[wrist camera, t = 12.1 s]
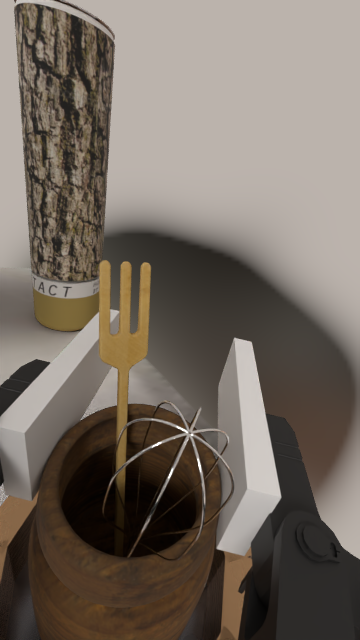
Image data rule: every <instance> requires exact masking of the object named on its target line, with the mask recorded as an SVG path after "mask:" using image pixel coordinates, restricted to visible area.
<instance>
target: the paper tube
mask: <svg viewBox="0 0 360 640" xmlns="http://www.w3.org/2000/svg"><path fill="white" fill-rule="evenodd" d="M14 1H15V3H16V4H15V7H14V13H15V27H16V43H17V57H18V73H19V88H20V103H21V118H22V134H23V148H24V164H25V179H26V194H27V208H28V209H27V210H28V224H29V240H30V255H31V269H32V285H33V296H34V311H35V317H36V319H37V320H38V321H39V322H40V323H41V324H42V325H43V326H45V327H47V328H50V329H54V330H59V331H75V330H80V329H83V328H84V327H85V326H86V325H87V324H88V323H89V322H90V321H91V320H92V319H93V317H94V316H95V315H96V314H97V313H98V312H99V264H100V263H101V262H102V254H103V237H104V220H105V203H106V186H107V170H108V152H109V136H110V117H111V102H112V84H113V68H114V49H115V44H114V39H115V35H114V33H113V31H112V30H111V29H110V28H109V26H108V25H106V24H105V23H104V22H103V21H102V20H100V19H99V18H97V17H96V16H94V15H93V14H91V13H89V12H88V11H86V10H84V9H82V8H80V7H78V6H76V5H73V4H71V3H69V2H66V1H64V0H14Z"/></svg>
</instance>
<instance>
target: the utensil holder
mask: <svg viewBox="0 0 360 640" xmlns="http://www.w3.org/2000/svg"><path fill="white" fill-rule="evenodd" d="M131 267H132V266H131V264H130V263H129V262H123V263H122V264H121V277H120V278H121V279H120V311H119V331H118V333H117V334H111V333H110V295H111V294H110V293H111V291H110V288H111V285H110V284H111V278H110V277H111V265H110V263H109V262H108V261H106V260H103V261H102V262H101V263H100V264H99V357H100V359H101V360H102V362H104V363H106V364H108V365H111V366H113V367H115V368H117V369H118V392H117V406H112V407H109V408H105V409H102V410H100V411H97V412H95V413H93V414H91V415H89V416H88V417H86V418H84V419H83V420H81V421H80V422H78V423H77V424H76V425H75V426H73V427H72V428H71V429H70V430H69V431H68V432H67V433H66V434H65V435H64V436H63V437H62V438H61V440H60V441H59V442H58V444H57V445H56V447H55V448H54V450H53V451H52V453H51V455H50V457H49V459H48V461H47V464H46V466H45V469H44V472H43V476H42V480H41V483H40V487H39V493H38V498H37V506H36V513H35V517H34V520H33V524H32V528H31V533H30V540H29V551H28V570H29V582H30V590H31V597H32V603H33V609H34V614H35V619H36V624H37V628H38V631H39V634H40V638H41V640H178V639H179V637H180V635H181V634H182V632H183V630H184V628H185V626H186V625H187V623H188V621H189V619H190V617H191V615H192V613H193V611H194V609H195V607H196V605H197V603H198V601H199V599H200V597H201V594H202V592H203V589H204V587H205V584H206V581H207V578H208V575H209V572H210V568H211V564H212V560H213V554H214V547H215V534H216V530H217V526H218V521H219V515H220V512H221V510H222V509H223V508H224V507H225V506H226V504H227V503H228V502H229V500H230V499H231V497H232V496H233V493H234V487H235V486H234V479H233V475H232V472H231V470H230V468H229V466H228V465H227V463H226V461H225V460H224V459H223V458H222V455H223V453H224V452H225V450H226V448H227V446H228V444H229V437H228V435H227V433H226V432H224V431H222V430H220V429H201V430H197V429H196V428H195V427H194V426H195V423H196V421H197V419H198V416H199V414H200V411H201V407H199V408H198V410H197V412H196V414H195V416H194V418H193V420H192V422H191V424H190V423H189V422H188V421H186V420H185V419H184V417H183V415H182V414H181V412H180V410H179V409H178V408H177V407H176V406H175V405H174V404H173V403H172V402H170V401H162V402H160V403H159V404H158V405H157V407H156V406H152V405H145V404H128V380H129V370H130V368H131V367H132V366H134V365H135V364H136V363H138V362H139V361H141V360H142V359H144V358H145V357H146V355H147V353H148V332H149V307H150V280H151V266H150V264H149V263H143V264H142V265H141V273H140V295H139V314H138V315H139V316H138V330H137V331H136V332H135V333H130V309H131ZM164 403H168V404H170V405H172V406H173V407H174V408H175V410H176V411H177V412H178V414H179V415H180V416H178V415H177V414H175V413H173V412H171V411H168V410H166V409H163V408H160V407H159V406H160V405H161V404H164ZM210 431H214V432H220V433H223V434H224V435H225V436H226V439H227V441H226V445H225V447H224V449H223V451H222V452H221V454H219V453H218V452H217V451H216V450H215V449H214V448H213V447H211V446H210V445H209V444H208V443H207V441H206V440H205V439H204V437H203V436H202V435H201V434H200V432H210ZM212 451H213V452H214V453H215V454H216V455H217V456H218V458H217V460H216V458H215V456H214V454H213V452H212ZM219 459H220V460H221V461H222V462H223V464H224V465H225V467H226V468H227V470H228V472H229V475H230V478H231V482H232V490H231V493H230V495H229V497H228V498H227V500H226V501H225V502H224V504H223V505H222V506H221V494H222V488H221V477H220V472H219V467H218V464H217V462H218V461H219ZM220 506H221V507H220Z"/></svg>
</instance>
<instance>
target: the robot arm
mask: <svg viewBox="0 0 360 640" xmlns="http://www.w3.org/2000/svg"><path fill="white" fill-rule="evenodd" d="M118 325H119V311H117V310H112V309H110V333H111V334H117V333H118ZM111 367H112V366H111V365H108V364H106V363H104V362H102V360H101V359H100V357H99V312H98V313H97V314H96V315H95V316H94V317H93V319H92V320H91V321H90V322H89V323H88V324H87V325H86V326H85V327H84V328H83V329H82V330H81V331H80V332H79V333H78V335H77V336H76V337H75V338H74V339H73V340H72V341H71V342H70V343H69V344H68V345H67V346H66V347H65V348H64V349H63V350H62V352H61V353H60V354H59V355H58V356H57V357H56V358H55V359H54V360H53V361H52V362H51V363H50V362H46V361H42V360H38V359H36V360H34V361H32V362H30V363H27V364H25V365H23V366H21V367H20V368H19V369H18V370H17V371H16V372H15V373H14V374H13V375H11V376H10V378H9V379H7V380H6V381H5V382H4V383H3V384H2V385H1V386H0V486H1V485H2V483H3V485H4V490H5V495H9V496H13V497H17V498H21V499H25V500H28V501H33V499H34V497H35V496H36V494H37V492H38V491H39V487H40V483H41V480H42V476H43V472H44V469H45V466H46V464H47V461H48V459H49V457H50V455H51V453H52V451H53V450H54V448H55V447H56V445H57V444H58V442H59V441H60V440H61V438H62V437H63V436H64V435H65V434H66V433H67V432H68V431H69V430H70V429H71V428H72V427H73V426H75V425H76V424H77V423H78V422H79V421H80V419H81V418H82V416H83V414H84V413H85V411H86V409H87V408H88V406H89V404H90V403H91V401H92V399H93V397H94V396H95V394H96V392H97V391H98V389H99V387H100V386H101V384H102V382H103V380H104V379H105V377H106V375H107V374H108V372H109V370H110V369H111ZM218 429H220V430H222V431H224V432H226V433H227V435H228V437H229V444H228V446H227V448H226V450H225V452H224V453H223V455H222V458H223V459H224V460H225V461H226V463H227V465H228V466H229V468H230V470H231V472H232V475H233V479H234V486H235V487H234V493H233V496H232V497H231V499H230V500H229V502H228V503H227V504H226V506H225V507H224V508H223V509H222V510H221V512H220V515H219V521H218V526H217V533H216V549H219V550H223V551H226V552H230V553H234V554H238V555H242V556H245V554H246V553H247V551H248V550H249V548H250V546H251V554H252V567H251V568H250V570H249V571H248V573H247V574H246V576H245V577H244V579H243V580H242V581H241V584H240V587H239V590H238V592H239V593H241V594H242V593H243V592H244V591H245V594H244V600H243V607H242V614H241V621H240V628H239V635H238V640H360V559H358V558H356V557H355V556H353V555H352V554H350V553H349V552H348V551H346V550H345V549H344V548H343V547H342V546H341V545H340V543H339V541H338V539H337V538H336V536H335V534H334V533H333V531H332V530H331V529H330V528H329V527H328V526H327V525H326V524H325V523H324V522H323V521H322V520H321V518H320V516H319V514H318V511H317V507H316V504H315V501H314V497H313V494H312V490H311V487H310V483H309V480H308V477H307V473H306V470H305V467H304V463H303V462H302V456H301V453H300V450H299V449H298V447H299V446H298V443H297V439H296V436H295V432H294V431H293V429H292V428H291V426H290V425H289V424H288V422H287V421H286V419H285V418H282V417H278V416H274V415H270V414H266V413H265V409H264V404H263V399H262V394H261V389H260V383H259V378H258V373H257V368H256V363H255V357H254V352H253V347H252V342H249V341H245V340H240V339H237V338H234V340H233V344H232V346H231V350H230V352H229V356H228V358H227V362H226V364H225V367H224V370H223V373H222V377H221V380H220V383H219V386H218ZM226 441H227V439H226V436H225V435H224V434H223V433H220V432H218V453H219V454H221V452H222V451H223V449H224V447H225V445H226ZM217 458H218V456H217ZM217 464H218V467H219V472H220V477H221V488H222V494H221V506H222V505H223V504H224V502H225V501H226V500H227V498H228V497H229V495H230V493H231V490H232V482H231V478H230V475H229V472H228V470H227V468H226V467H225V465H224V464H223V462H222V461H221V460H220V459H219V461H218V462H217ZM221 506H220V507H221Z"/></svg>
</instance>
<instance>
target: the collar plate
mask: <svg viewBox="0 0 360 640" xmlns="http://www.w3.org/2000/svg"><path fill="white" fill-rule="evenodd" d="M38 493H39V491H38V492H37V494H36V496H35V497H34V499H33V501H28V500H25V499H21V498H17V497H13V496H8V498H7V499H6V500H5V501H4V503H3V504H2V505H1V507H0V640H41V638H40V634H39V631H38V628H37V624H36V619H35V614H34V609H33V603H32V597H31V590H30V582H29V570H28V551H29V540H30V533H31V528H32V524H33V520H34V517H35V513H36V506H37V498H38ZM216 533H217V530H216ZM251 567H252V554H251V546H250V548H249V550H248V551H247V553H246V554H245V556H242V555H238V554H234V553H230V552H226V551H223V550H219V549H216V534H215V547H214V554H213V560H212V564H211V568H210V572H209V575H208V578H207V581H206V584H205V587H204V589H203V592H202V594H201V597H200V599H199V601H198V603H197V605H196V607H195V609H194V611H193V613H192V615H191V617H190V619H189V621H188V623H187V625H186V626H185V628H184V630H183V632H182V634H181V635H180V637H179V639H178V640H238V635H239V628H240V621H241V614H242V607H243V600H244V594H245V591H244V592H243V593H242V594H241V593H239V592H238V590H239V587H240V584H241V581H242V580H243V579H244V577H245V576H246V574H247V573H248V571H249V570H250V568H251Z"/></svg>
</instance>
